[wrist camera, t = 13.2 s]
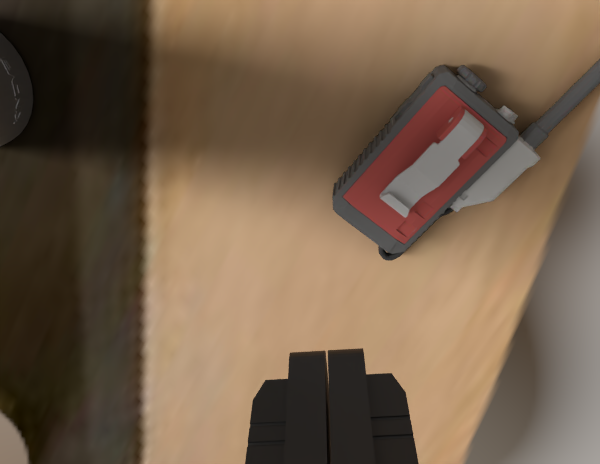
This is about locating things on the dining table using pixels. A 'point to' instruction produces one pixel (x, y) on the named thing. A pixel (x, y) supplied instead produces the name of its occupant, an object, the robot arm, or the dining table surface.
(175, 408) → the dining table surface
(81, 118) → the dining table surface
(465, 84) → the walkie-talkie
